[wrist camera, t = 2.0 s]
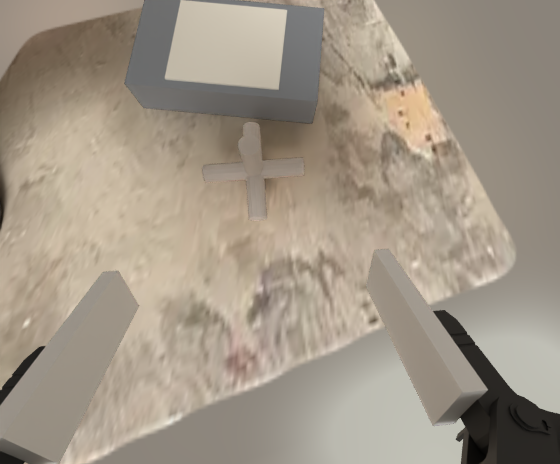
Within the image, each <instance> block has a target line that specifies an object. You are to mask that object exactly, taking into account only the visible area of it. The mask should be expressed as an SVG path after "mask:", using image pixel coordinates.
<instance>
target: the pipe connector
mask: <svg viewBox="0 0 560 464" xmlns="http://www.w3.org/2000/svg"><path fill="white" fill-rule="evenodd" d="M238 149H239V152H240V156H241V159H242V162H234V163H221V164H208V165H203V168H202V172H203V178H204V181H205V183H215V182H228V181H241V180H246V185H247V200H248V214H249V220H251V221H261V220H265V219H267V209H266V196H265V190H266V187H265V179H266V178H279V177H292V176H303V175H304V160H303V157H300V158H287V159H274V160H262V148H261V135H260V126H259V124H258V123H256V122H247V123H245V124H244V125H243V137H242V138H240V140H239V142H238Z"/></svg>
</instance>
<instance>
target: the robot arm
mask: <svg viewBox="0 0 560 464" xmlns="http://www.w3.org/2000/svg"><path fill="white" fill-rule="evenodd" d="M0 220H1V203H0ZM366 288H367V290H368V292H369V294H370V296H371V298H372V300H373V302H374V304H375V306H376V308H377V311H378V313H379V315H380V317H381V319H382V321H383V323H384V325H385V327H386V329H387V331H388V333H389V336H390V337H391V340H392V342H393V344H394V346H395V348H396V350H397V352H398V354H399V356H400V358H401V361H402V363H403V364H404V367H405V369H406V371H407V373H408V375H409V377H410V379H411V381H412V383H413V386H414V388H415V390H416V392H417V394H418V396H419V398H420V400H421V402H422V404H423V406H424V408H425V410H426V413H427V415H428V417H429V419H430V421H431V423H432V425H433V426H439V425H448V424H454V423H455V422H456V421H457V420H458V419H459V418H461V420H462V421H463V423H464V425H465V428H464V429H463V430H462V431H461V432H460V433H458V435H457V438H456V440H457V441H459V442H460V441H461V440H462V439H463V447H462V458H461V464H560V414H557V413H553V412H549V411H545V410H543V409H540V408H538V407H537V406H536V405H535V404H534V403H532V402H531V401H529V400H527V399H526V398H524V397H522V396H519V395H517V394H516V393H515V392H514V391H513V390H512V389H511V388H510V387H509V386H508V385H507V383H506V382H505V381H504V380H503V378H502V377H501V376H500V374H499V373H498V372H497V370H496V369H495V368H494V367H493V365H492V364H491V363H490V362H489V360H488V359H487V358H486V356H485V355H484V354H483V353H482V351H481V350H480V349H479V347H478V346H476V345H475V342H474V341H473V340H472V338H471V337H470V336H469V335H467V332H466V331H465V329H464V328H463V327H462V326H461V324H460V323H459V322H458V321H457V320H456V319H455V318H454V317H453V316H451V315H450V314H449V313H447V312H446V311H445V310H442V311H432V309H431V308H430V307H429V305H428V304H427V302H426V301H425V300H424V298H423V297H422V295H421V294H420V292H419V291H418V290H417V288H416V287H415V285H414V284H413V283H412V281H411V280H410V278H409V277H408V275H407V274H406V273H405V271H404V270H403V268H402V267H401V265H400V264H399V263H398V261H397V260H396V258H395V257H394V256H393V254H392V253H391V251H390V250H389V249H380V250H374V253H373V258H372V262H371V267H370V271H369V275H368V280H367V284H366ZM138 307H139V305H138V303H137V301H136V300H135V298H134V296H133V295H132V293H131V291H130V289H129V288H128V286H127V284H126V283H125V281H124V279H123V278H122V276H121V274H120V273H119V271H108V272H102V274H101V275H100V276H99V278H98V279H97V280H96V282H95V283H94V284H93V285H92V287H91V288H90V289H89V291H88V292H87V293H86V295H85V296H84V297H83V298H82V300H81V301H80V302H79V304H78V305H77V306H76V308H75V309H74V310H73V311H72V313H71V314H70V315H69V317H68V318H67V319H66V321H65V322H64V323H63V325H62V326H61V327H60V328H59V330H58V331H57V332H56V334H55V335H54V336H53V338H52V339H51V340H50V341H49V343H48V344H47V345H46V346H41V347H39V348H38V349H36V350H35V351H34V352H33V353H32V354H31V355H29V356H28V357H27V358H26V359H25V360H24V361H23V362H22V363H21V365H20V366H19V367H18V368H17V370H16V371H15V372H14V373H13V374H12V375H13V376H12V377H11V378H9V379H8V381H7V382H6V383H5V384H4V386H3V387H2V390H0V464H24V462H26V463H29V464H59V463H60V461H61V459H62V457H63V455H64V453H65V451H66V449H67V447H68V445H69V443H70V441H71V439H72V437H73V435H74V433H75V431H76V429H77V427H78V425H79V424H80V422H81V420H82V418H83V416H84V414H85V412H86V410H87V408H88V406H89V404H90V402H91V400H92V398H93V396H94V394H95V392H96V390H97V388H98V386H99V384H100V382H101V380H102V378H103V376H104V374H105V372H106V370H107V368H108V366H109V364H110V362H111V360H112V358H113V357H114V355H115V353H116V351H117V349H118V347H119V345H120V343H121V341H122V339H123V337H124V335H125V333H126V331H127V329H128V327H129V325H130V323H131V321H132V319H133V317H134V315H135V313H136V311H137V309H138Z"/></svg>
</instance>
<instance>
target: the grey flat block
mask: <svg viewBox="0 0 560 464" xmlns="http://www.w3.org/2000/svg"><path fill="white" fill-rule="evenodd" d="M323 18H324V8H315V7H304V6H293V5H283V4H272V3H261V2H250V1H239V0H144V4H143V8H142V12H141V17H140V21H139V25H138V29H137V33H136V37H135V42H134V46H133V50H132V54H131V58H130V62H129V66H128V71H127V75H126V79H125V83H124V84H125V85H126V86H127V88H128V89H129V90H130V91H131V93H132V94H133V95H134V96H135V98H136V99H137V100H138V101H139V103H140V104H141V105H142V106H143V108H150V109H161V110H172V111H182V112H193V113H204V114H215V115H225V116H236V117H247V118H258V119H268V120H279V121H290V122H300V123H311V124H312V122H313V118H314V114H315V110H316V105H317V100H318V86H319V73H320V59H321V46H322V32H323Z"/></svg>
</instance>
